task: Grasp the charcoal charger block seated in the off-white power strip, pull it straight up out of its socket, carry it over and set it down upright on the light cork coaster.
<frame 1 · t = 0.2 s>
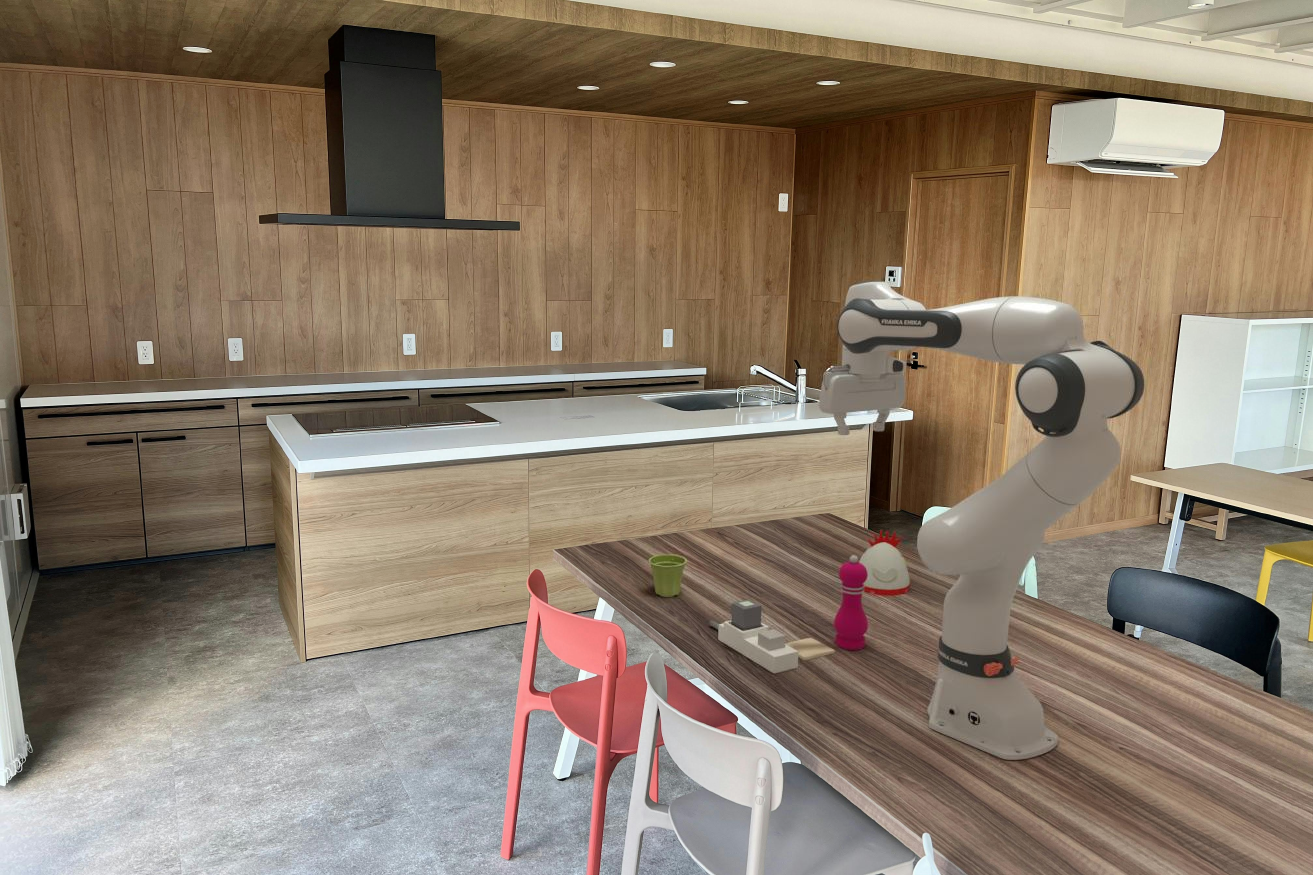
hand: (861, 432, 184), 47 cm above the table, fingers open, 8 cm apart
kitchen timer: (881, 587, 236), on the table
charger: (745, 630, 196), point 3 cm above the table, touching power strip
plant pot: (667, 594, 230), on the table
coaster: (807, 649, 195), on the table
power strip: (756, 652, 194), on the table
pepper mill: (849, 645, 199), on the table
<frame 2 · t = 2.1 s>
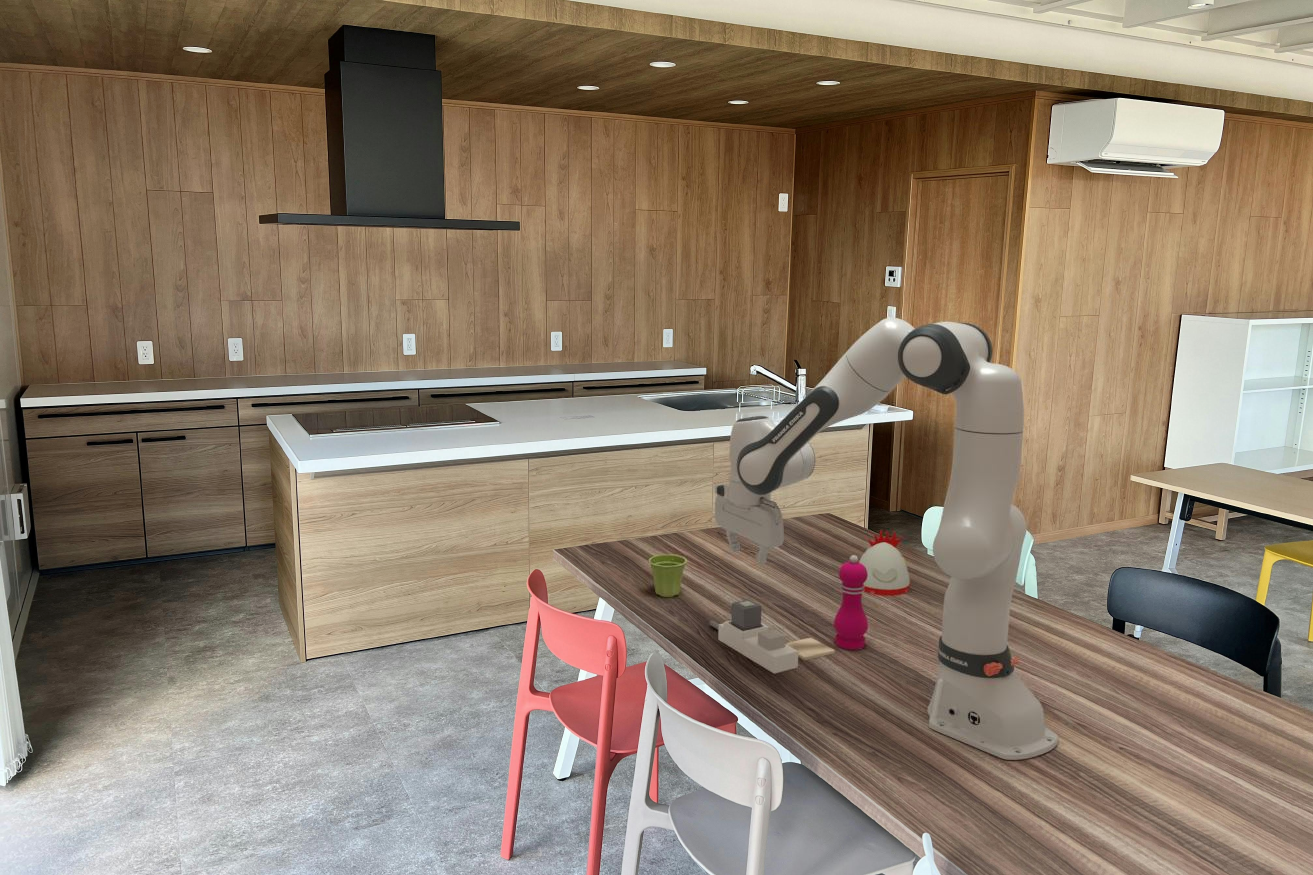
hand: (747, 556, 194), 20 cm above the table, fingers open, 8 cm apart
nothing on the table moved.
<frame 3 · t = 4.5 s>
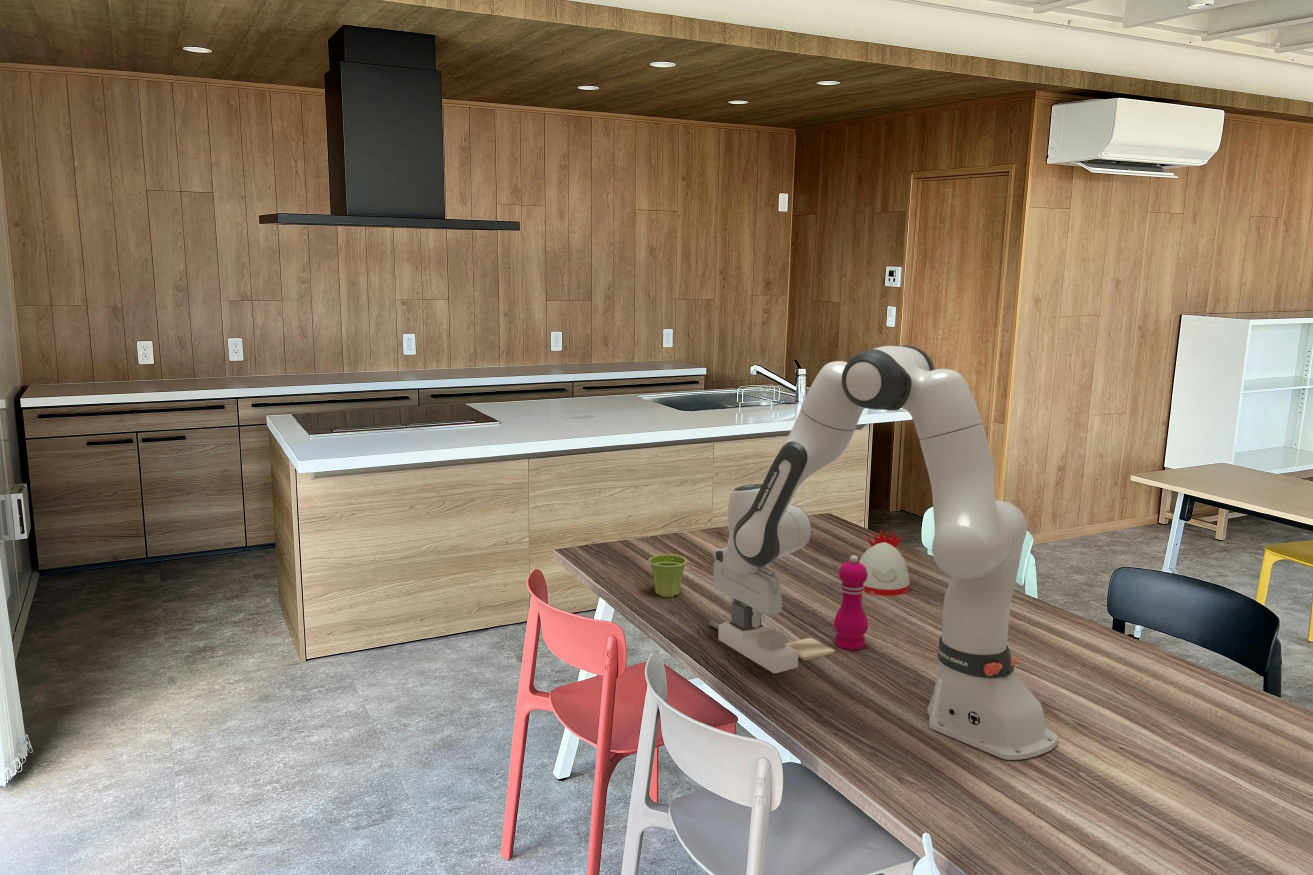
hand: (746, 621, 196), 6 cm above the table, fingers closed on charger, 4 cm apart
charger: (745, 630, 196), point 4 cm above the table, touching gripper, power strip
everything else where it was.
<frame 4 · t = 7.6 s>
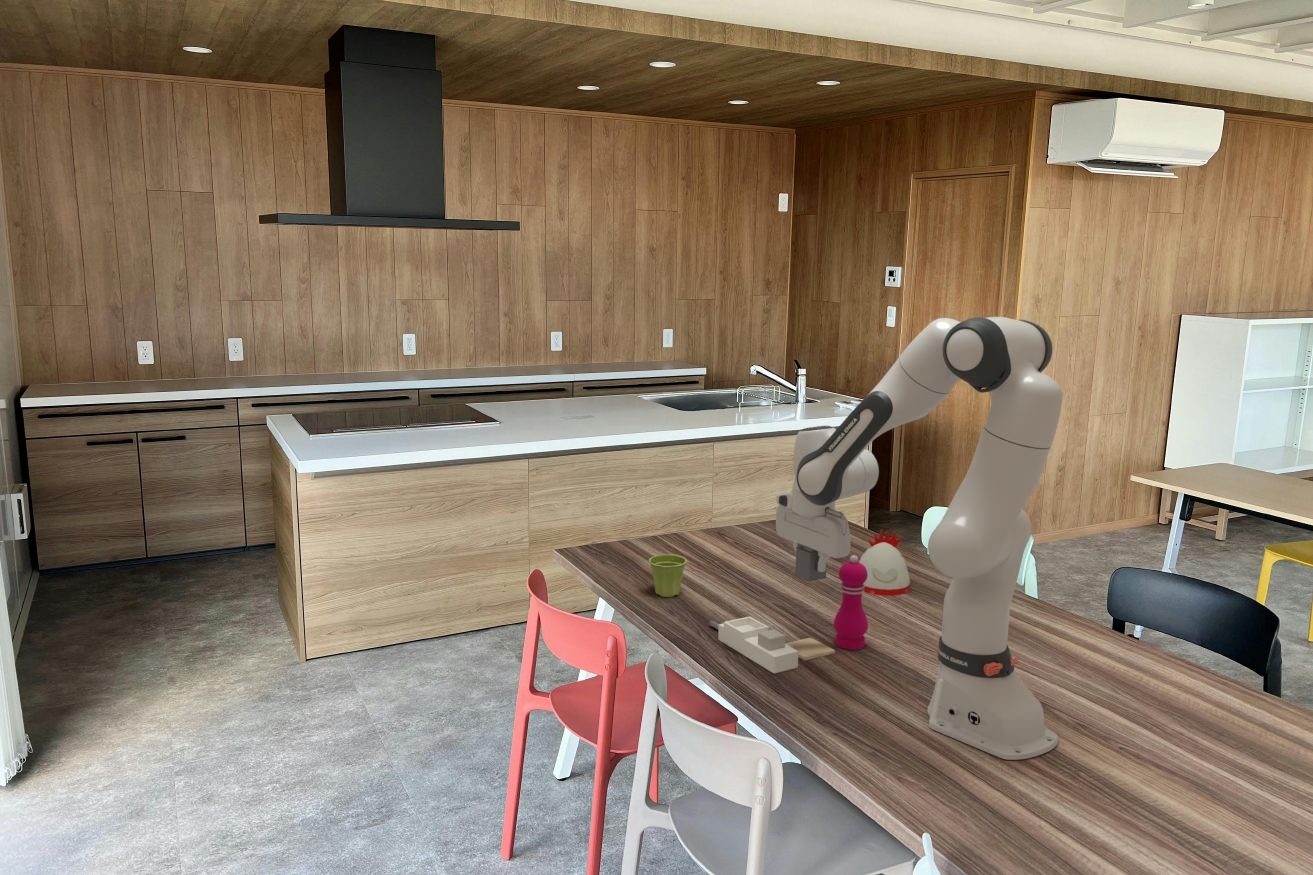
hand: (810, 567, 192), 18 cm above the table, fingers closed on charger, 4 cm apart
charger: (810, 576, 193), point 16 cm above the table, touching gripper
everything else where it was.
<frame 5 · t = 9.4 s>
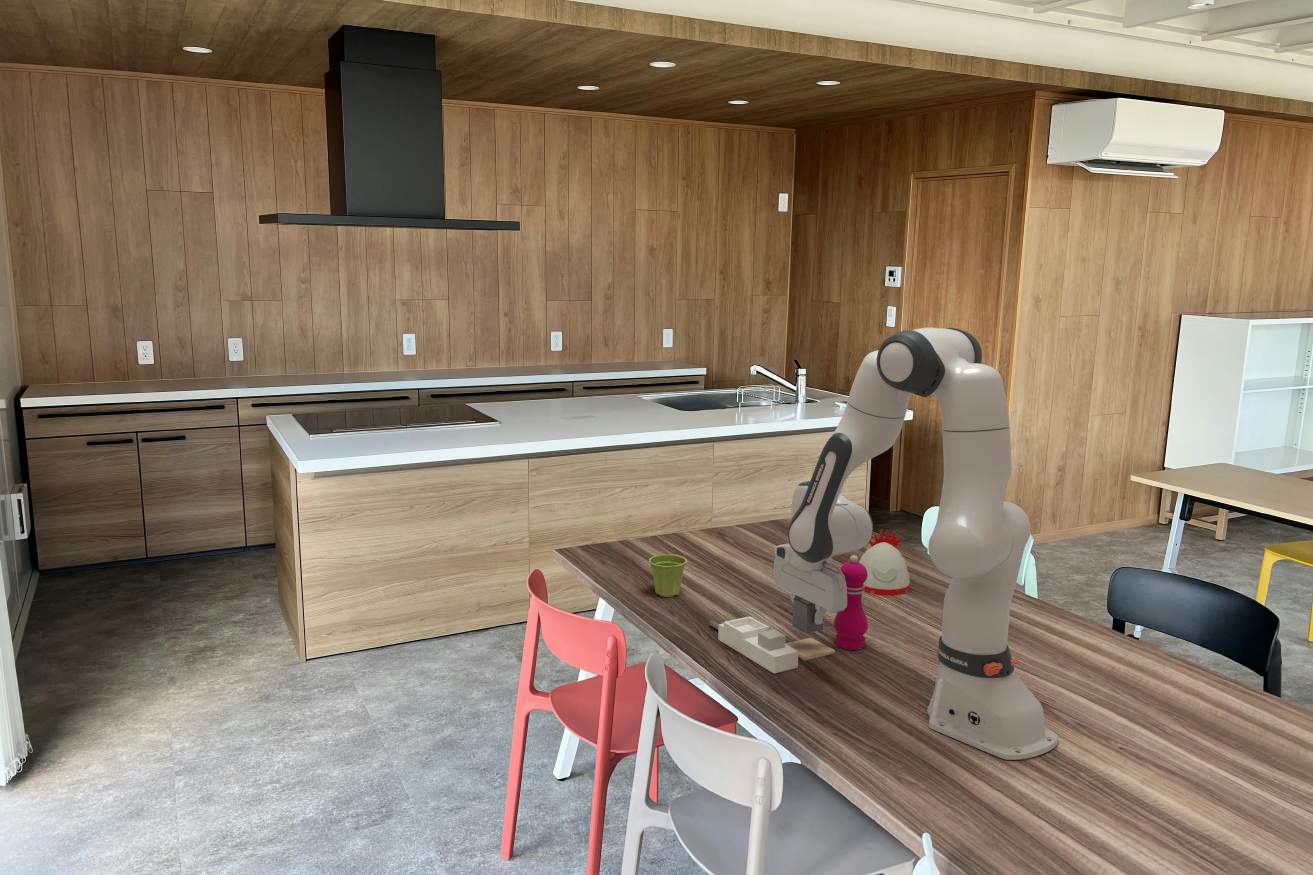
hand: (807, 618, 194), 7 cm above the table, fingers closed on charger, 4 cm apart
charger: (807, 627, 195), point 5 cm above the table, touching gripper
everything else where it was.
when the fingers open (4 cm above the table, at t = 10.9 s): charger drops 1 cm, resting on coaster.
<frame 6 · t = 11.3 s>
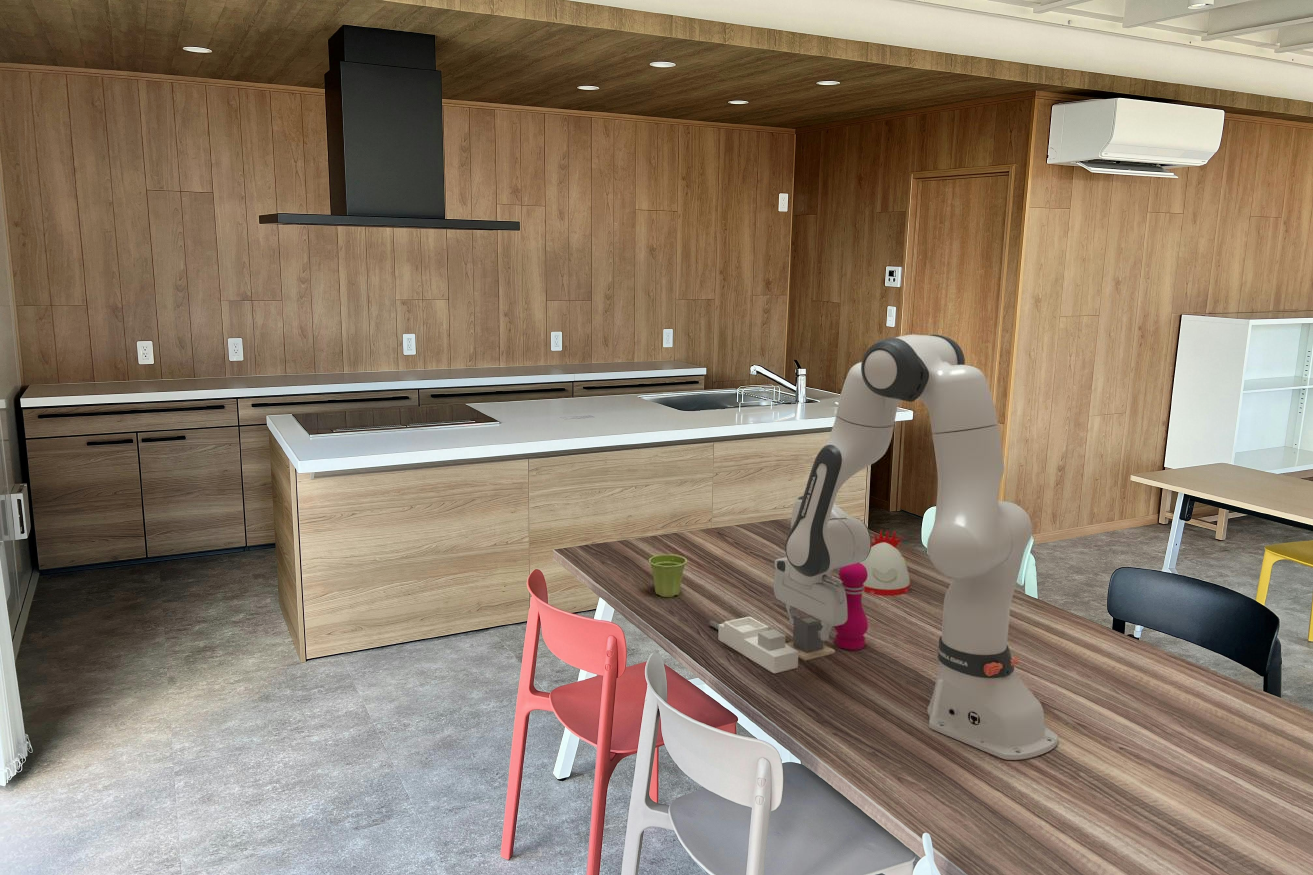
hand: (808, 631, 195), 4 cm above the table, fingers open, 8 cm apart
charger: (808, 647, 195), point 1 cm above the table, touching coaster
everything else where it was.
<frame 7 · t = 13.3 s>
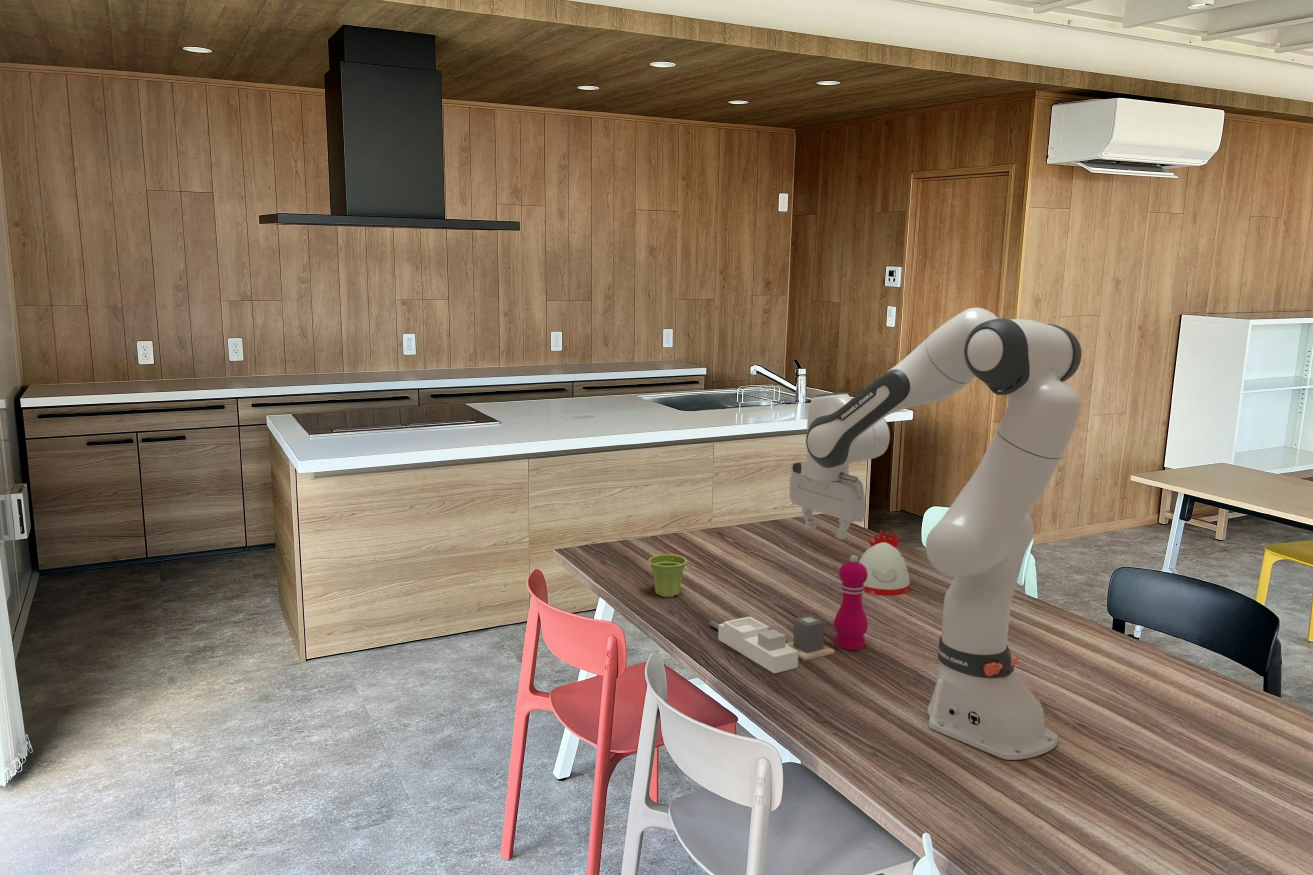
hand: (825, 533, 194), 25 cm above the table, fingers open, 8 cm apart
nothing on the table moved.
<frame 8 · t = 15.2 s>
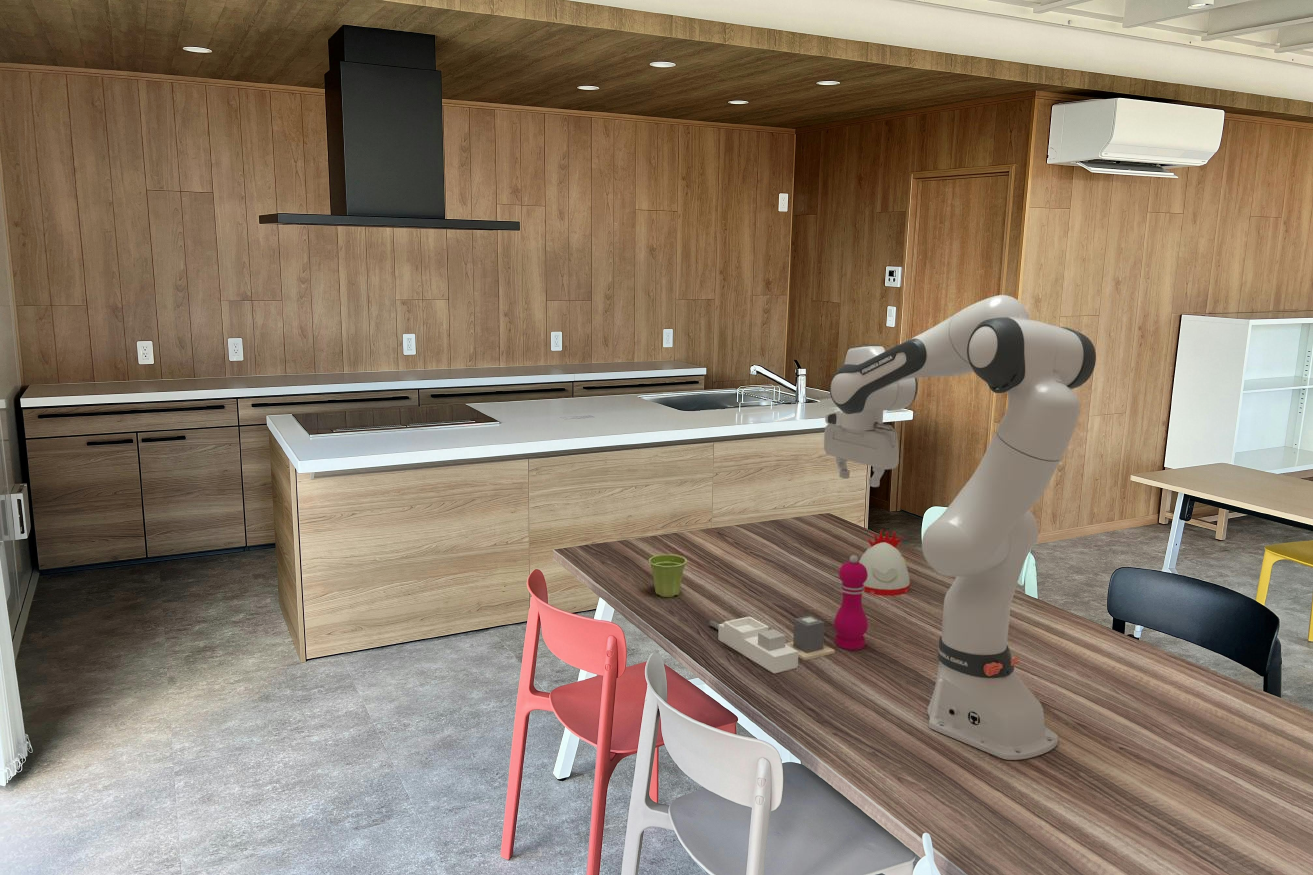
hand: (858, 482, 201), 34 cm above the table, fingers open, 8 cm apart
nothing on the table moved.
at the end: charger inside the target area on the coaster (0.1 cm from its centre), point 0.6 cm above the coaster's base; charger tilted 0°; charger touching coaster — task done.
